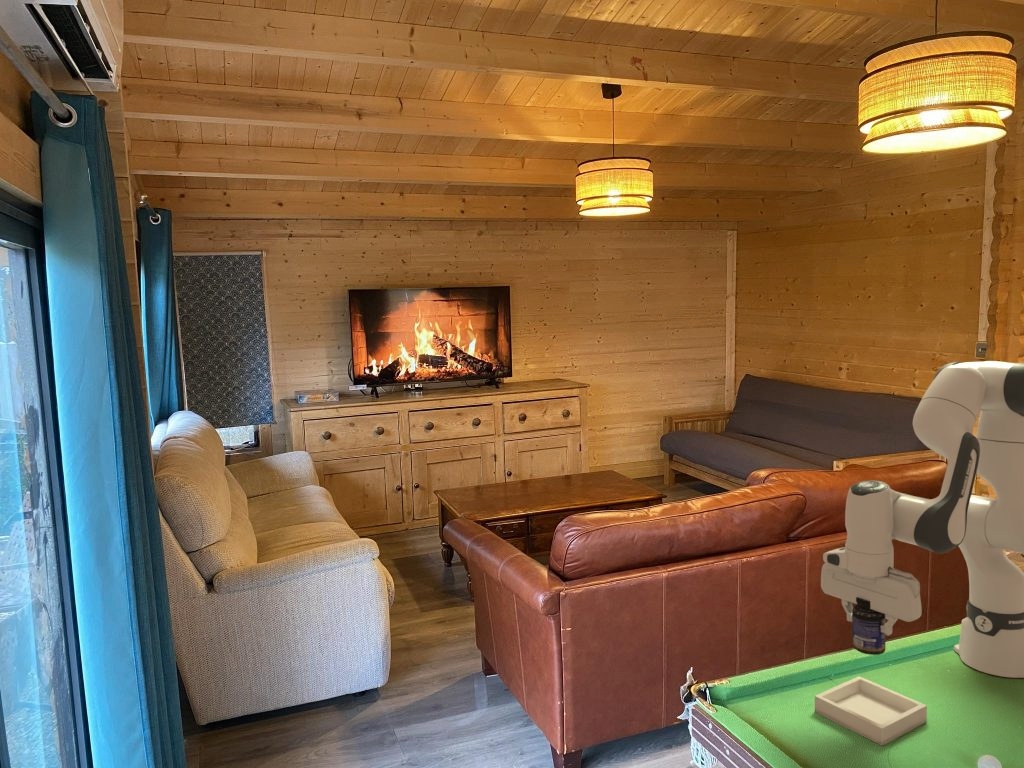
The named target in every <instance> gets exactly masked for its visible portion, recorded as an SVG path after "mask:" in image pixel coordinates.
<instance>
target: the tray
mask: <svg viewBox="0 0 1024 768" xmlns="http://www.w3.org/2000/svg"><path fill="white" fill-rule="evenodd" d="M814 713H816V714H818V715H820V716H822V717H824V718H826V719H829V720H830V721H832V722H834V723H836V724H838V725H840V726H842V727H844V728H846V729H848V730H849V731H852V732H853V733H856V734H857V733H858V735H859V736H862V737H863V736H864V738H865V737H866V738H865V739H867V738H868V739H867V740H869V739H870V741H871V740H872V741H871V742H873V741H874V742H873V743H875V742H876V743H875V744H877V743H878V744H877V745H879V744H880V746H881V745H883V746H885V745H887V744H888V743H891V742H892V741H894V740H895V739H898V738H900V737H902V736H903V735H905V734H908V733H909V732H911V731H913V730H914V729H916V728H918V727H920V726H922V725H924V724H926V723H927V722H928V706H927V704H924V703H923V702H920V701H917V700H916V699H913V698H911V697H908V696H906V695H904V694H901V693H899V692H897V691H895V690H892V689H890V688H887V687H885V686H883V685H880V684H878V683H876V682H874V681H871V680H869V679H866V678H865V677H862V676H860V675H858V676H857V677H854V678H852V679H850V680H847V681H845V682H842V683H840V684H839V685H836V686H833V687H831V688H829V689H827V690H825V691H822V692H820V693H818V694H816V695H814Z"/></svg>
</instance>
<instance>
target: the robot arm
mask: <svg viewBox="0 0 1024 768" xmlns="http://www.w3.org/2000/svg"><path fill="white" fill-rule="evenodd" d="M978 417H979V418H978ZM977 419H978V423H977V427H976V428H977V429H976V436H975V435H974V432H973V431H974V428H975V424H976V422H977ZM912 427H913V431H914V434H915V436H916V437H917V438H918V439H919V441H921V443H923V445H924V446H926V447H927V448H928V449H930V451H932V452H934V453H936V454H938V455H939V456H941V457H943V458H945V459H946V460H947V465H946V470H945V473H944V478H943V482H942V484H941V488H940V493H939V495H938V496H936V497H935V498H932V499H930V498H925V497H920V496H914V495H911V494H907V493H902V492H900V491H896V490H894V489H892V488H891V487H890V485H889V484H887V483H886V482H885V481H880V480H873V479H871V480H862V481H858V482H855V483H854V484H852V485H851V486H850V487H849V490H848V492H847V495H846V499H845V500H846V502H845V516H844V518H845V519H844V522H845V523H844V526H845V529H846V532H847V533H846V535H847V536H846V540H845V547H839V548H835V549H832V550H828V551H826V552H824V553H823V555H822V560H823V562H824V563H823V565H822V567H821V572H820V573H821V575H820V588H821V589H822V592H823V593H824V594H825V595H828V596H832V597H834V598H838V599H840V600H841V605H842V608H843V610H844V611H845V613H846V621H848V622H850V623H852V609H853V607H854V606H853V604H855V605H857V602H856V597H858V598H861V599H865V600H868V601H870V606H871V607H870V609H872V610H875V611H878V612H881V613H884V614H885V620H887V621H886V622H885V623H884V624H882V625H880V629H881V630H880V632H881V633H882V634H885V636H891V635H892V634H893V627H894V625H895V624H896V622H897V621H898V619H899V620H902V621H904V622H908V623H909V622H914V621H916V620H918V619H919V618H920V617H921V616H922V612H923V609H922V602H921V594H920V593H921V585H920V584H921V583H920V581H919V579H917V577H915V576H914V575H913V574H912V573H910V572H907V571H902V570H899V569H897V568H894V557H895V556H894V545H893V541H892V540H897V541H900V542H903V543H905V544H906V543H907V544H909V545H910V544H911V545H914V546H917V547H920V548H922V549H925V550H927V551H931V552H933V553H936V554H939V555H940V554H945V553H948V552H950V551H952V550H955V549H956V548H957V547H958V548H959V549H960V551H961V553H962V555H963V558H964V560H965V562H966V566H967V571H968V582H969V583H968V584H969V585H968V588H969V589H968V591H969V594H968V595H969V597H968V598H969V599H968V600H967V603H966V606H965V607H966V617H965V618H963V619H962V620H961V625H960V631H959V632H960V633H959V642H958V643H957V644H955V645H954V646H953V651H955V652H956V653H957V654H958V655H959V657H960V658H959V659H960V660H961V661H962V662H963V663H964V664H965V665H967V666H969V667H971V668H972V669H974V670H977V671H979V672H982V673H986V674H989V675H993V676H998V677H1002V678H1003V677H1005V678H1017V679H1018V678H1022V679H1023V678H1024V571H1023V570H1022V569H1021V568H1020V567H1019V566H1017V564H1015V563H1014V562H1013V561H1011V560H1010V559H1009V557H1008V556H1007V554H1006V553H1005V551H1004V550H1006V551H1010V552H1013V553H1018V554H1021V555H1024V362H1016V363H1015V362H1008V361H1007V362H1006V361H998V360H986V361H968V362H967V361H966V362H963V361H954V362H949V363H946V364H944V365H943V366H940V368H939V369H937V371H936V372H935V375H934V377H933V380H932V382H931V383H930V385H928V388H927V389H926V391H925V392H924V395H922V398H921V400H920V402H919V404H918V406H917V408H916V410H915V413H914V414H913V419H912ZM977 475H978V476H979V478H981V479H982V480H984V481H985V482H986V483H988V484H989V485H990V486H991V487H992V488H993V491H994V492H995V495H996V498H992V497H988V496H987V497H986V496H983V495H982V496H981V495H976V494H973V489H974V484H975V481H976V477H977Z"/></svg>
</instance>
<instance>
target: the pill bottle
mask: <svg viewBox="0 0 1024 768" xmlns="http://www.w3.org/2000/svg"><path fill="white" fill-rule="evenodd" d="M856 602H857V604H855V605H854V606H853V609H852V622H851V623H852V624H851V625H852V633H851V635H852V647H853V649H854V650H855V651H857V652H858V653H861V654H865V655H871V656H872V655H873V656H876V655H877V656H878V655H882V654H884V653H885V652H886V635H885V634H882V633H881V632H880V630H881V629H880V625H882V624H884V623H886V618H885V614H884V613H881V612H878V611H875V610H872V609H870V607H871V606H870V601H868V600H865V599H861V598H858V597H856Z"/></svg>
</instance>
